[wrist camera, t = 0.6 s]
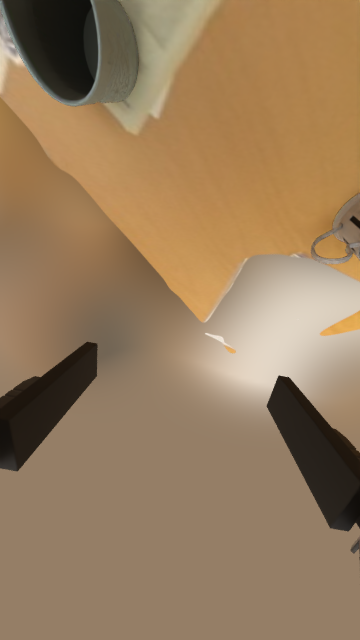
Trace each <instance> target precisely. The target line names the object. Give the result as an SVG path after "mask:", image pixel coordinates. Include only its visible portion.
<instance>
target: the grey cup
mask: <svg viewBox="0 0 360 640" xmlns="http://www.w3.org/2000/svg"><path fill="white" fill-rule="evenodd" d="M0 10H1V13H2V16H3V19H4V21H5V24H6V27H7V30H8V32H9V35H10V37H11V39H12V41H13V43H14V45H15V47H16V50H17V51H18V53H19V55H20V57H21V59H22V61H23V62H24V64H25V66H26V67H27V69H28V71H29V72H30V74H31V75H32V77H33V78H34V79H35V81H36V82H37V83H38V84H39V85H40V86H41V88H42V89H43V90H44V91H45V92H47V93H48V94H49V95H50V96H51V97H52V98H54V99H55V100H57V101H59V102H60V103H63V104H65V105H68V106H81V105H87V104H95V103H96V102H101V103H107V102H119V101H122V100H124V99H125V98H127V97H128V95H129V94H130V93H131V91H132V89H133V88H134V85H135V82H136V78H137V72H138V51H137V44H136V39H135V35H134V31H133V28H132V25H131V22H130V20H129V18H128V16H127V14H126V12H125V10H124V9H123V7H122V6H121V4H120V3H119V2H118V0H0Z"/></svg>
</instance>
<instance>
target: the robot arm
mask: <svg viewBox="0 0 360 640" xmlns="http://www.w3.org/2000/svg"><path fill="white" fill-rule="evenodd" d="M96 376H97V344H96V343H91V342H86V343H85V344H84V345H82V346H81V347H80V348H78V349H77V350H76V351H74V352H73V353H72V354H70V355H69V356H68V357H66V358H65V359H64V360H63V361H62V362H60V363H59V364H58V365H56V366H55V367H54V368H52V369H51V370H50V371H48V372H47V373H46V374H44V375H43V376H42V377H36V376H35V377H32V378H30V379H28V380H26V381H23V382H22V383H21V384H19V385H18V386H16V387H15V388H14V389H13V390H11V391H9V392H8V393H6V394H5V396H2V397H1V398H0V468H2V469H8V470H13V471H18V470H19V469H20V468H21V467H22V466H23V464H24V463H25V462H26V461H27V459H28V458H29V457H30V456H31V455H32V453H33V452H34V451H35V450H36V448H37V447H38V446H39V445H40V444H41V443H42V441H43V440H44V439H45V438H46V437H47V435H48V434H49V433H50V432H51V431H52V429H53V428H54V427H55V426H56V425H57V423H58V422H59V421H60V420H61V418H62V417H63V416H64V415H65V414H66V412H67V411H68V410H69V409H70V407H71V406H72V405H73V404H74V403H75V402H76V400H77V399H78V398H79V396H81V394H82V393H83V392H84V391H85V390H86V388H87V387H88V386H89V385H90V384H91V382H92V381H93V380H94V379H95V377H96ZM267 408H268V410H269V412H270V413H271V416H272V417H273V419H274V421H275V423H276V425H277V427H278V429H279V430H280V433H281V435H282V437H283V438H284V440H285V442H286V444H287V446H288V448H289V449H290V452H291V454H292V456H293V458H294V460H295V461H296V463H297V465H298V467H299V469H300V471H301V473H302V475H303V477H304V478H305V481H306V483H307V485H308V486H309V488H310V490H311V492H312V494H313V496H314V498H315V500H316V502H317V504H318V506H319V507H320V509H321V511H322V513H323V515H324V517H325V519H326V521H327V523H328V525H329V527H330V528H333V529H338V530H344V531H349V530H350V529H351V528H352V526H353V525H354V524H355V523H357V525H358V526H359V528H360V453H359V451H357V450H356V448H355V447H354V446H353V445H352V444H351V442H350V441H349V440H348V439H347V438H346V437H345V436H343V435H342V434H341V433H340V432H338V431H337V430H336V429H333V428H332V427H331V426H330V425H329V424H328V423H327V422H326V420H325V419H324V418H323V417H322V416H321V414H320V413H319V412H318V411H317V410H316V408H314V406H313V405H312V404H311V403H310V401H309V400H308V399H307V398H306V397H305V395H303V393H302V392H301V391H300V390H299V388H298V387H297V386H296V385H295V384H294V382H293V381H292V380H291V379H290V378H289V377H284V376H278V378H277V381H276V384H275V386H274V389H273V391H272V394H271V397H270V399H269V401H268V404H267ZM358 549H359V552H360V537H359V538H358V539H357V541H356V542H355V543H354V544H353V545H352V547H351V552H353V553H355V552H356V551H357V550H358ZM359 558H360V557H359Z"/></svg>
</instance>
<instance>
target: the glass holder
mask: <svg viewBox="0 0 360 640" xmlns="http://www.w3.org/2000/svg"><path fill="white" fill-rule="evenodd" d="M332 234H334V235H335V237H336V238H337V239H338V240H340V241H342V242H345V243H346V245H347V246H346V249H345V251H346V253H347V254H348V255H347V256H346V257H343V258H338V259H328V258H322V257H320V256H318V255H317V254H316V253H315V250H314V247H315V245H316V244H317V243H318V242H319V241H321V240H322V239H324V238H326V237H328V236H330V235H332ZM353 253H354V254H355V255H356V256H357V257H358V259H359V260H360V193H359V194H357V195H356V196H354V197H353V198H351V199H350V200H349V201H348V202H347V203H346V204H345V205H344V206H343V207H342V208H341V209H340V210H339V212H338V213H337V215H336V217H335V219H334V222H333V230H331V231H328V232H326V233H325V234H323V235H321V236H319V237H318V238H316V240H315V241H314V242H313V244H312V246H311V254H312V257H313V258H314V259H315V260H316V261H318V262H321V263H325V264H339V263H344V262H346V261H348V260H349V259H350V258H351V257H352V254H353Z"/></svg>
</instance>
